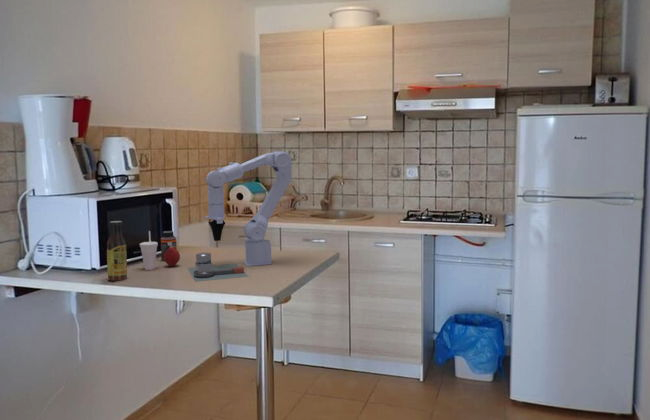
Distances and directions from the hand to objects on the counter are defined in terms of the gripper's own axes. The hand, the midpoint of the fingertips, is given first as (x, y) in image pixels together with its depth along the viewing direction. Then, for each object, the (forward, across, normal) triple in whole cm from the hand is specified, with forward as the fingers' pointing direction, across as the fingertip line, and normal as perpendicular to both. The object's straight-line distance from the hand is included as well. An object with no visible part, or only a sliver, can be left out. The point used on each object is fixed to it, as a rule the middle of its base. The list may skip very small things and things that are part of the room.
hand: (217, 240), depth 209 cm
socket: (+8, +13, -7) cm, 17 cm away
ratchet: (+10, +13, -2) cm, 16 cm away
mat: (+10, +9, -2) cm, 14 cm away
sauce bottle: (+10, +6, -35) cm, 37 cm away
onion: (+10, -7, -16) cm, 20 cm away
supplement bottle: (+10, -20, -16) cm, 28 cm away
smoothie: (+10, -6, -24) cm, 27 cm away
